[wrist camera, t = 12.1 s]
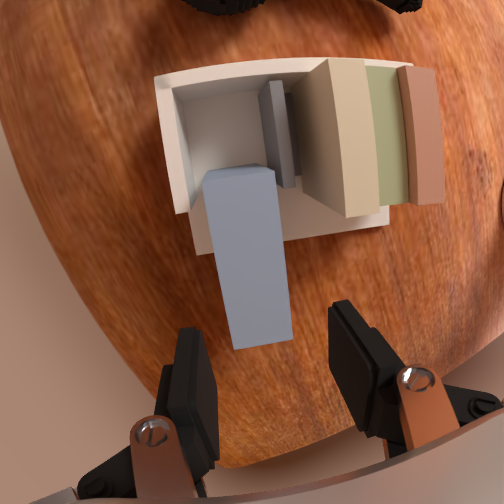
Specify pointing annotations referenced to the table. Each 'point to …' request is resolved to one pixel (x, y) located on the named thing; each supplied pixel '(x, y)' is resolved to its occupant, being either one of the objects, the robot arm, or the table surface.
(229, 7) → the toy
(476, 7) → the table surface
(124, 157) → the table surface
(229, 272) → the grey block
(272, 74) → the shelf
